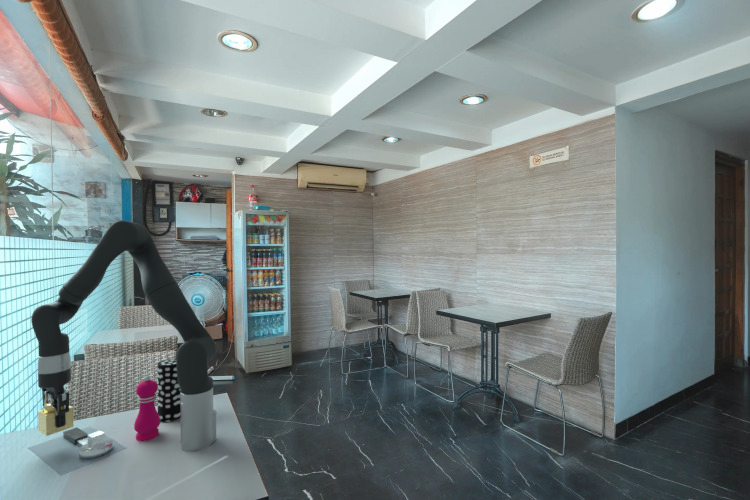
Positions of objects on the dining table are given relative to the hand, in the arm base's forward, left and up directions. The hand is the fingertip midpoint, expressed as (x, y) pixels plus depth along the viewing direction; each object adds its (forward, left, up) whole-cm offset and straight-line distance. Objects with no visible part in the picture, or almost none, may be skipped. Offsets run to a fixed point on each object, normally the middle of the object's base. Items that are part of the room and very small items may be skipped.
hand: (56, 423), depth 111 cm
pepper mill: (-19, +15, -9) cm, 25 cm away
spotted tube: (-31, +7, -9) cm, 33 cm away
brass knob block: (0, 0, -2) cm, 2 cm away
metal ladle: (-6, +4, -8) cm, 11 cm away
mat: (-4, +4, -8) cm, 10 cm away
